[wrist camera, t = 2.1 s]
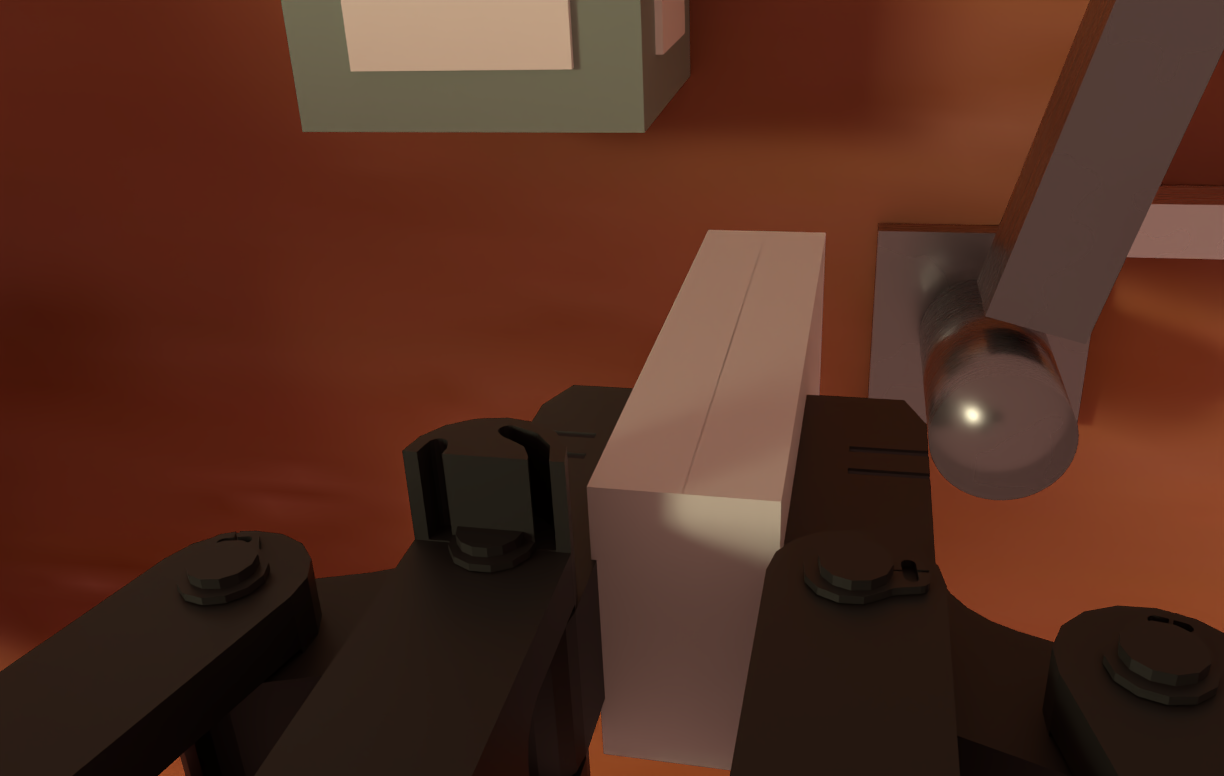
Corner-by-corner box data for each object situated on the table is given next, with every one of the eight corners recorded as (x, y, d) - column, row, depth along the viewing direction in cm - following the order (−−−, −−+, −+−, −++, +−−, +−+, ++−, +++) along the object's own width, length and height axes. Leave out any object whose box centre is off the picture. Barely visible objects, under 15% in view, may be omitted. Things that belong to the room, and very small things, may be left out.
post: (867, 409, 29) (865, 536, 23) (878, 223, 27) (879, 316, 21) (1072, 420, 28) (1118, 555, 22) (1101, 227, 26) (1160, 326, 20)
